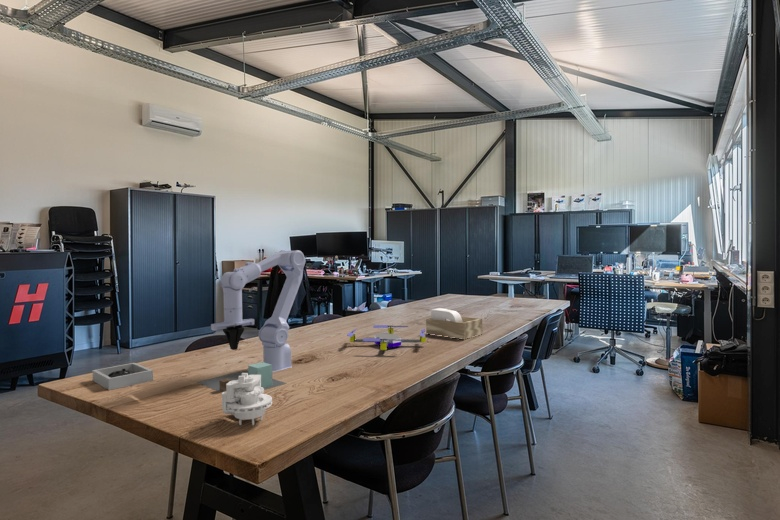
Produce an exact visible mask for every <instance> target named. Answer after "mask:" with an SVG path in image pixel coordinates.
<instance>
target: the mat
mask: <svg viewBox="0 0 780 520" xmlns="http://www.w3.org/2000/svg"><path fill="white" fill-rule="evenodd" d="M242 373H248V369H247V370H242V371H239V372H238V371H237V372H235V373H229V374H226V375H225V374H224V375H222V376H216V377H213V378H208V379H204V380H200V381H199V380H198V381H196V383H197V384H199V385H202V386H205V387H206V388H209V389H211V390H214V391H217V392H219V393H221V394H222V393H223V391H220V384H219V380H223V379H230V380H232V381H234V380H238V377H239V376H242ZM287 384H288V383H287V382H284V381H281V380H277V379H275V378H272V385H273V386H270V387H266V388H264V391H265V390H269V389H272V388H276V387H278V386H279V387H280V386H282V385H287Z"/></svg>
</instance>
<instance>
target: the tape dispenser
mask: <svg viewBox="0 0 780 520" xmlns="http://www.w3.org/2000/svg"><path fill="white" fill-rule="evenodd" d="M461 316H462V315H461V314H460V313H459V312H458V311H456V310H453V309H452V310H451V309H449V308H442V307H439V308H438V307H437V308H431V309H430V318H431V319H436V320H444V321H453V322H461V323H462V318H461Z"/></svg>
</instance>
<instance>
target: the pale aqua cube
mask: <svg viewBox="0 0 780 520" xmlns="http://www.w3.org/2000/svg"><path fill="white" fill-rule="evenodd" d="M247 367H248V368H247V371H248V375H261V387H263V388H266V387H270V386H273V385H272V379H273V372H272V365H271V364H268V363H264V362H262V361H261V362H257V363H254V364H253V363H252V364H248V365H247Z"/></svg>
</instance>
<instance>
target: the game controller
mask: <svg viewBox="0 0 780 520" xmlns="http://www.w3.org/2000/svg"><path fill="white" fill-rule="evenodd" d="M128 374H130V371H126V369H122V370H121V371H115V372H112V373H110V374H109V375H108V376H109V377H111V378H113V377H118V376H123V375H128Z"/></svg>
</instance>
